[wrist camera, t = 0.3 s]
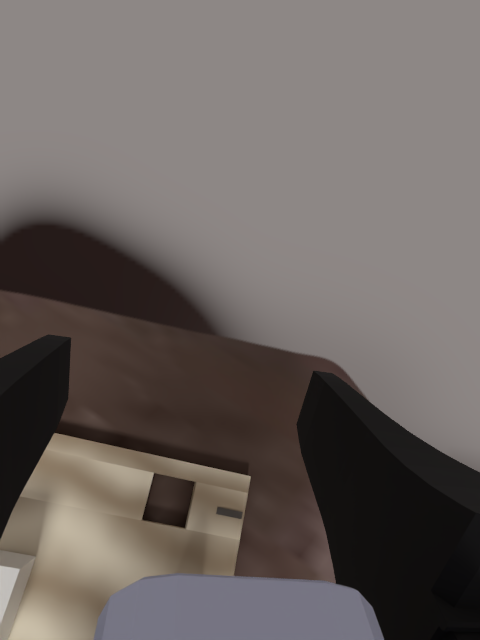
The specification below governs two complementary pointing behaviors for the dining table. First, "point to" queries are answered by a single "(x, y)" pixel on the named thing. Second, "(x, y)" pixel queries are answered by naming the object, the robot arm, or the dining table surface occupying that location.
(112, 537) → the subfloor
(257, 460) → the dining table surface
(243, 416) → the dining table surface
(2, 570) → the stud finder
